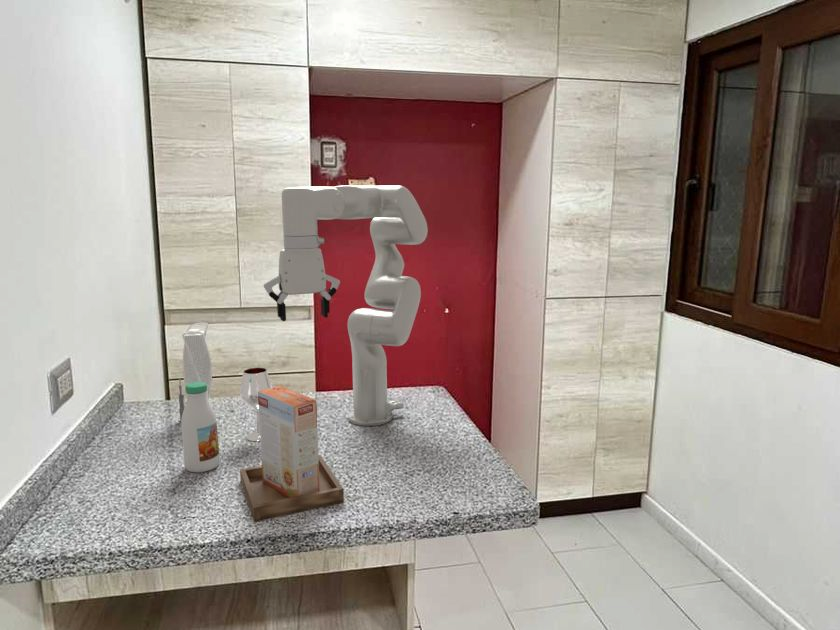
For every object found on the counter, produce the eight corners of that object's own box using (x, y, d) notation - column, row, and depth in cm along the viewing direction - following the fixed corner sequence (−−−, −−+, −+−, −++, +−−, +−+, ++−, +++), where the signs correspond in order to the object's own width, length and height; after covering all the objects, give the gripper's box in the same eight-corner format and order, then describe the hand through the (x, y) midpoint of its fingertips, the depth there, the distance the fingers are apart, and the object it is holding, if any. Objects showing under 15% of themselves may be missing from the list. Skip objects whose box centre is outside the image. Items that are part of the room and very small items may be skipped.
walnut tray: (320, 466, 138) (320, 454, 137) (343, 502, 122) (343, 488, 121) (240, 482, 130) (240, 469, 130) (254, 522, 114) (253, 507, 114)
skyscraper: (205, 413, 172) (197, 319, 167) (222, 419, 168) (215, 323, 162) (178, 422, 166) (170, 325, 160) (195, 429, 161) (187, 328, 155)
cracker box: (321, 494, 123) (318, 399, 119) (296, 505, 119) (292, 406, 115) (285, 472, 133) (281, 383, 129) (261, 481, 129) (256, 389, 125)
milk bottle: (186, 476, 133) (179, 391, 129) (183, 463, 140) (176, 382, 136) (222, 469, 137) (216, 386, 133) (217, 456, 143) (211, 377, 139)
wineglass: (279, 431, 159) (276, 366, 155) (268, 443, 151) (264, 375, 147) (249, 430, 159) (245, 365, 156) (237, 442, 151) (233, 374, 148)
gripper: (333, 241, 139) (335, 312, 143) (258, 243, 132) (262, 318, 136) (343, 243, 133) (345, 318, 136) (264, 246, 126) (269, 324, 129)
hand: (304, 318), depth 136 cm, fingers open, 9 cm apart
